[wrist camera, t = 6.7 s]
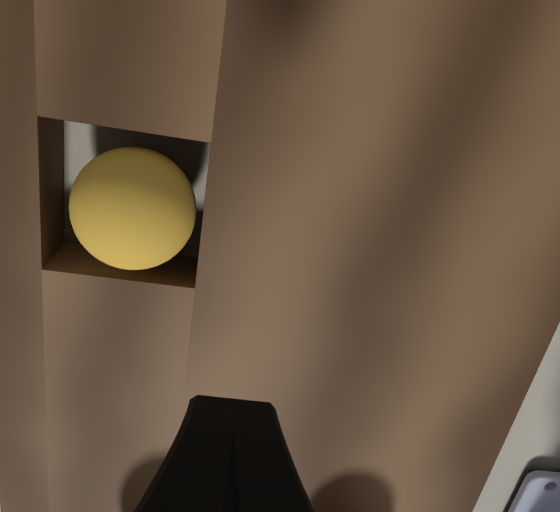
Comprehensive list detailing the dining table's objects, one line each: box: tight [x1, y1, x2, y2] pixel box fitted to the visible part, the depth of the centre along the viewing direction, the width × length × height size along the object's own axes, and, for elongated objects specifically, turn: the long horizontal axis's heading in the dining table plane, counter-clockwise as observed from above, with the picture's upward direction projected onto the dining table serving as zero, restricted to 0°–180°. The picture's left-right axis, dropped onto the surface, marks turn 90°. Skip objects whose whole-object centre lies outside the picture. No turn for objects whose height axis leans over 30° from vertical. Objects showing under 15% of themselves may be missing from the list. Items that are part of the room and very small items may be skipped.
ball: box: [69, 147, 196, 270], centre depth 15 cm, size 4×4×4 cm
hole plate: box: [0, 0, 560, 512], centre depth 18 cm, size 18×24×2 cm
